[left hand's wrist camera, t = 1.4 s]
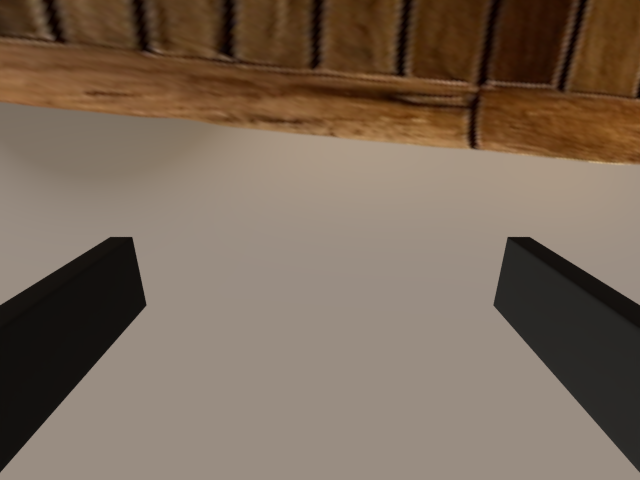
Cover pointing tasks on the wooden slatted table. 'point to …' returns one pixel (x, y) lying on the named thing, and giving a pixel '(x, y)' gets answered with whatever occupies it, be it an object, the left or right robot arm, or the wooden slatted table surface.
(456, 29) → the wooden slatted table surface
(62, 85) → the wooden slatted table surface
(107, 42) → the wooden slatted table surface
